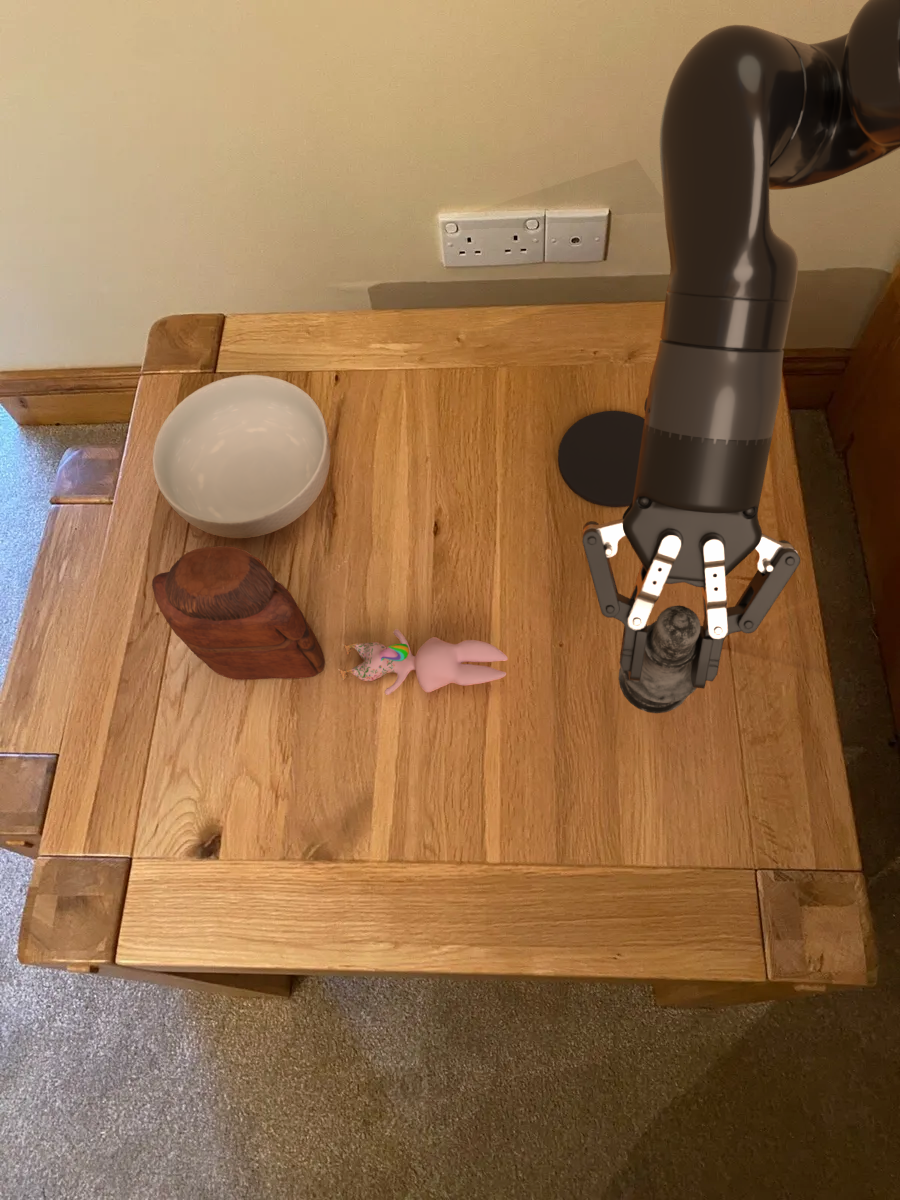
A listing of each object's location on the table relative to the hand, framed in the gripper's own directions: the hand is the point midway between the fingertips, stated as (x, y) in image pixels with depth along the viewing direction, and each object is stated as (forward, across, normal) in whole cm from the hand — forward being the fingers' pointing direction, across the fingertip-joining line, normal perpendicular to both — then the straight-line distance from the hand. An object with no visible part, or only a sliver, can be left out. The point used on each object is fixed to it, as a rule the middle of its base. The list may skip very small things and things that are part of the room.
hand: (665, 678), depth 59 cm
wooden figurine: (+10, -34, +16) cm, 39 cm away
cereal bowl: (-3, -39, +29) cm, 48 cm away
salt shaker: (+3, 0, +6) cm, 6 cm away
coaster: (-8, -4, +34) cm, 35 cm away
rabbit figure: (+10, -19, +16) cm, 27 cm away
